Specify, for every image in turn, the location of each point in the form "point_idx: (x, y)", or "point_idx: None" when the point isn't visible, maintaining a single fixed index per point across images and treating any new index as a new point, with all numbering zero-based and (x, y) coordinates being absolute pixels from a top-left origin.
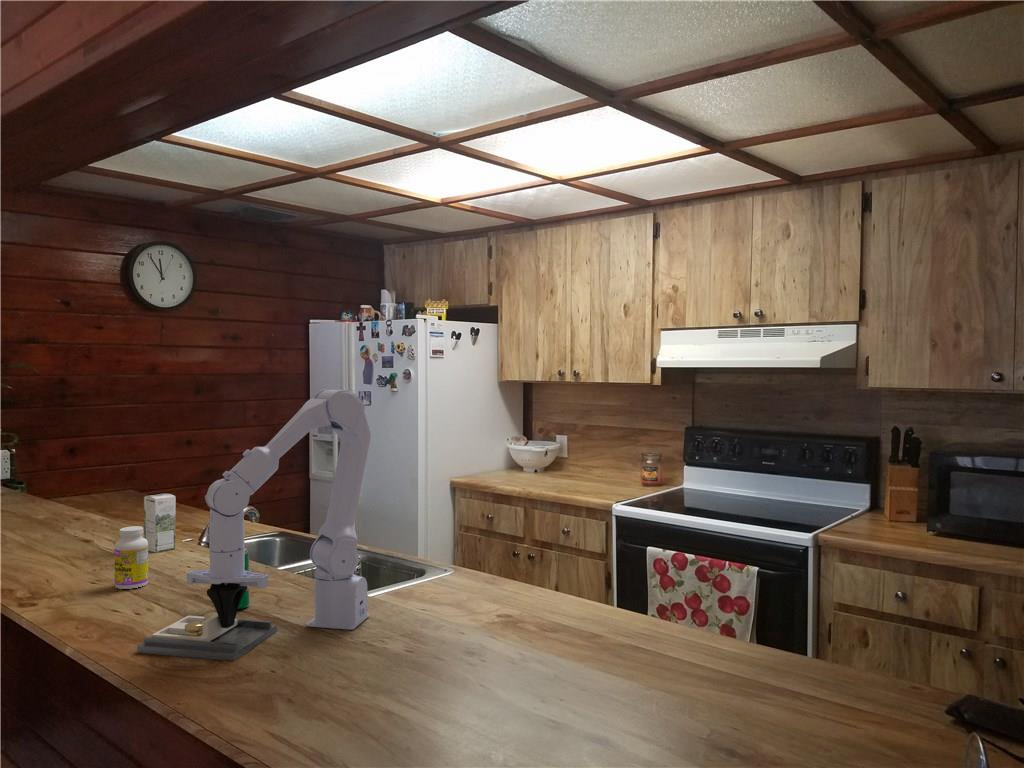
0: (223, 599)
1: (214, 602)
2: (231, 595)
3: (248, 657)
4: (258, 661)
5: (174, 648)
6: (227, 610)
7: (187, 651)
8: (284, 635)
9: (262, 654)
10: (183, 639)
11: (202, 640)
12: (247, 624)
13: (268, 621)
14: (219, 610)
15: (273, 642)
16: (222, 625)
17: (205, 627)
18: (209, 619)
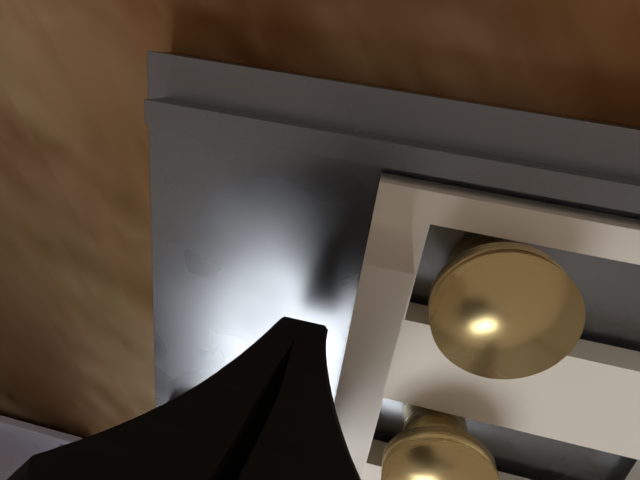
0: (193, 453)
1: (327, 456)
2: (28, 459)
3: (127, 113)
4: (50, 59)
5: (578, 129)
6: (222, 378)
7: (469, 102)
8: (121, 368)
9: (85, 155)
10: (544, 209)
11: (395, 182)
12: None
13: None
14: (299, 394)
15: (121, 298)
16: (310, 327)
17: (386, 247)
18: (375, 320)
